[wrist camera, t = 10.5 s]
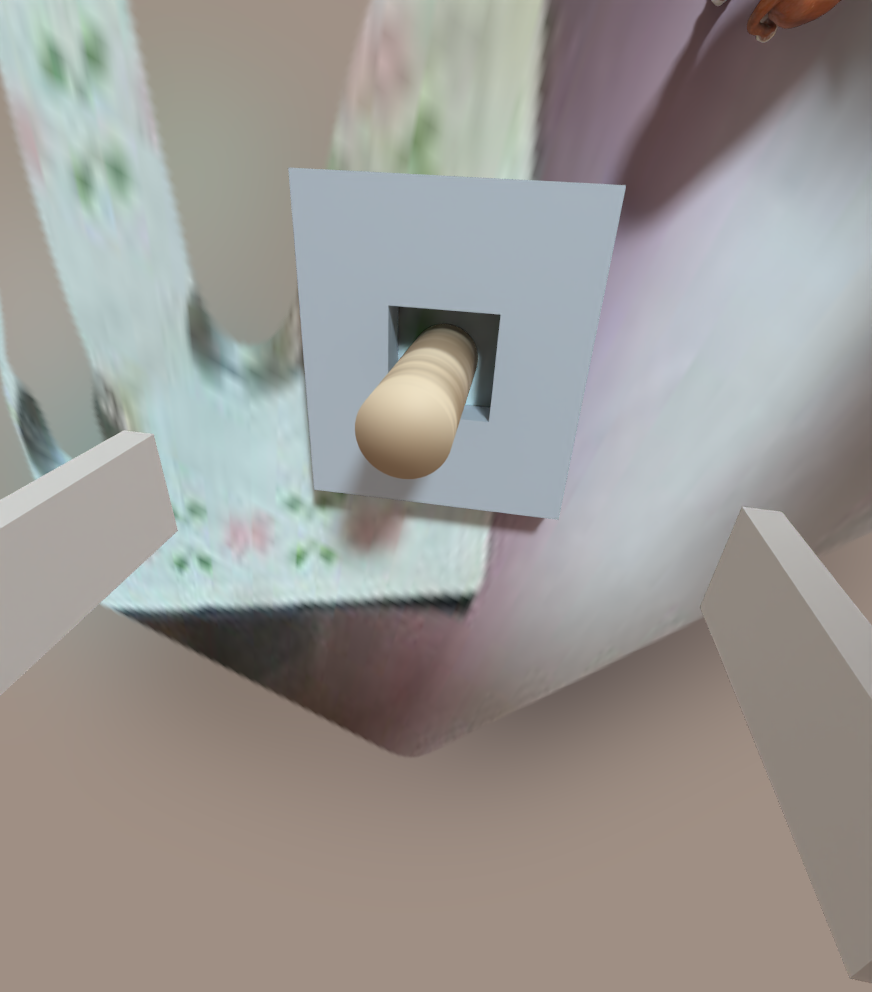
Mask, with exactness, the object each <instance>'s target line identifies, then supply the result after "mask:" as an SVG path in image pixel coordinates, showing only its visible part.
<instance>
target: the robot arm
mask: <svg viewBox="0 0 872 992" xmlns="http://www.w3.org/2000/svg"><path fill="white" fill-rule="evenodd" d="M177 531H178V530H177V526H176V522H175V518H174V514H173V510H172V506H171V502H170V498H169V494H168V490H167V486H166V482H165V478H164V474H163V470H162V466H161V462H160V458H159V454H158V450H157V446H156V442H155V438H154V434H149V433H140V432H132V431H122V432H120V433H118V434H117V435H115V436H113V437H111V438H110V439H108V440H106V441H104V442H102V443H101V444H99V445H97V446H95V447H94V448H92V449H90V450H88V451H86V452H85V453H83V454H81V455H79V456H78V457H76V458H74V459H72V460H70V461H69V462H67V463H65V464H63V465H62V466H60V467H58V468H56V469H54V470H53V471H51V472H49V473H47V474H46V475H44V476H42V477H40V478H38V479H37V480H35V481H33V482H31V483H30V484H28V485H26V486H24V487H23V488H21V489H19V490H17V491H15V492H14V493H12V494H10V495H9V496H6V497H5V498H3V499H1V500H0V695H1V694H2V693H3V692H5V691H6V690H7V689H8V688H9V687H10V686H11V685H12V684H13V683H14V682H15V681H16V680H18V679H19V678H20V677H21V675H23V674H24V673H25V672H26V671H27V670H28V669H29V668H30V667H31V666H33V665H34V664H35V663H36V662H37V661H38V660H39V659H40V658H41V657H42V656H43V655H44V654H46V653H47V652H48V651H49V650H50V649H51V648H52V647H53V646H54V645H55V644H56V643H57V642H58V641H60V640H61V639H62V638H63V637H64V636H65V635H66V634H67V633H68V632H69V631H70V630H71V629H72V628H73V627H75V625H76V624H78V623H79V622H80V621H81V620H82V619H83V618H84V617H85V616H86V615H87V614H89V613H90V612H91V611H92V610H93V609H94V608H95V607H96V606H97V605H98V604H99V603H100V602H102V601H103V600H104V599H105V598H106V597H107V596H108V595H109V594H110V593H111V592H112V591H113V590H114V589H116V588H117V587H118V586H119V585H120V584H121V583H122V582H123V581H124V580H125V579H126V578H127V577H128V576H130V575H131V574H132V573H133V572H134V571H135V570H136V569H137V568H138V567H139V566H140V565H141V564H142V563H144V562H145V561H146V560H147V559H148V558H149V557H150V556H151V555H152V554H153V553H154V552H155V551H156V550H158V549H159V548H160V547H161V546H162V545H163V544H164V543H165V542H166V541H167V540H168V539H169V538H170V537H172V536H173V535H174V534H175V533H176V532H177ZM700 609H701V611H702V614H703V616H704V619H705V621H706V624H707V626H708V629H709V631H710V634H711V636H712V638H713V641H714V643H715V646H716V648H717V651H718V653H719V655H720V658H721V661H722V663H723V665H724V668H725V670H726V673H727V676H728V678H729V681H730V683H731V686H732V688H733V690H734V693H735V695H736V698H737V700H738V703H739V705H740V708H741V710H742V713H743V715H744V718H745V720H746V723H747V725H748V728H749V730H750V732H751V735H752V738H753V740H754V743H755V745H756V748H757V750H758V752H759V755H760V757H761V760H762V762H763V765H764V767H765V769H766V772H767V775H768V777H769V780H770V782H771V785H772V787H773V789H774V792H775V795H776V797H777V799H778V802H779V804H780V807H781V809H782V812H783V814H784V817H785V819H786V822H787V824H788V827H789V829H790V832H791V834H792V837H793V839H794V842H795V844H796V847H797V849H798V851H799V854H800V856H801V859H802V861H803V864H804V866H805V869H806V871H807V874H808V876H809V879H810V881H811V884H812V886H813V889H814V891H815V894H816V896H817V899H818V901H819V903H820V906H821V909H822V911H823V914H824V916H825V918H826V921H827V923H828V926H829V928H830V931H831V933H832V935H833V938H834V941H835V943H836V946H837V948H838V951H839V953H840V956H841V958H842V961H843V963H844V965H845V968H846V970H847V973H848V975H849V978H851V979H855V980H860V981H864V982H869V983H872V625H871V624H870V623H869V621H868V620H867V619H866V618H865V616H864V615H863V614H862V613H861V611H860V610H859V609H858V608H857V606H856V605H855V604H854V603H853V601H852V600H851V599H850V597H849V596H848V595H847V594H846V592H845V591H844V590H843V589H842V587H841V586H840V585H839V583H838V582H837V581H836V580H835V578H834V577H833V576H832V575H831V573H830V572H829V571H828V570H827V568H826V567H825V566H824V565H823V563H822V562H821V561H820V559H819V558H818V557H817V556H816V554H815V553H814V552H813V551H812V549H811V548H810V547H809V545H808V544H807V543H806V542H805V540H804V539H803V538H802V537H801V535H800V534H799V533H798V532H797V530H796V529H795V528H794V526H793V525H792V524H791V523H790V521H789V520H788V519H787V518H786V516H785V515H784V514H783V513H782V512H781V511H773V510H765V509H756V508H748V507H742V508H741V511H740V513H739V515H738V518H737V520H736V522H735V525H734V527H733V530H732V532H731V534H730V537H729V539H728V541H727V544H726V546H725V549H724V551H723V553H722V556H721V558H720V561H719V563H718V565H717V568H716V570H715V572H714V575H713V577H712V580H711V582H710V584H709V587H708V589H707V591H706V594H705V596H704V599H703V601H702V603H701V606H700Z"/></svg>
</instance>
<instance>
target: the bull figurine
mask: <svg viewBox="0 0 872 992" xmlns="http://www.w3.org/2000/svg"><path fill="white" fill-rule="evenodd" d="M711 1H712V2H713V3H714V4H715V5H716V6H720V5H722V4H723V3H724V2H725V1H727V0H711ZM840 1H841V0H760V2H759V4H758V5H757V7H756V8H755V10H754V11H753V13H752V14H751V16H750V18H749V20H748V23H747V30H748V33H749V34H751V35H756V40H757V41H760V42H762V43H764V42H767V41H769V40H770V39H771V38H772V37H773V36H774V35H775V33H776V31H777V27H778V26H779V27H782V28H784V29H786V28H793V27H797V26H800V25H802V24H805V23H807V22H810V21H812V20H815V19H817V18H818V17H820V16H822V15H824V14H825V13H827V12H828V11H829V10H831V9H832V8H833V7H834V6H835V5H836V4H837V3H838V2H840ZM767 13H768V15H766V14H767ZM765 15H766V16H765Z"/></svg>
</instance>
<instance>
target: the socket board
mask: <svg viewBox="0 0 872 992" xmlns="http://www.w3.org/2000/svg"><path fill="white" fill-rule="evenodd" d="M289 181H290V193H291V205H292V219H293V231H294V242H295V243H294V244H295V256H296V267H297V268H296V269H297V281H298V294H299V306H300V319H301V331H302V344H303V356H304V369H305V381H306V394H307V406H308V419H309V431H310V444H311V456H312V469H313V481H314V490H322V491H330V492H338V493H346V494H354V495H362V496H370V497H378V498H386V499H395V500H403V501H411V502H419V503H427V504H435V505H443V506H451V507H459V508H467V509H476V510H484V511H492V512H500V513H508V514H516V515H524V516H532V517H540V518H548V519H557V520H559V515H560V510H561V505H562V500H563V495H564V490H565V485H566V480H567V475H568V470H569V465H570V460H571V456H572V451H573V446H574V441H575V436H576V431H577V426H578V421H579V416H580V411H581V406H582V401H583V396H584V391H585V386H586V381H587V376H588V372H589V367H590V362H591V357H592V352H593V347H594V342H595V337H596V332H597V327H598V322H599V317H600V312H601V307H602V302H603V297H604V292H605V288H606V283H607V278H608V273H609V268H610V263H611V258H612V253H613V248H614V243H615V238H616V233H617V228H618V223H619V218H620V213H621V208H622V203H623V199H624V194H625V189H626V185H610V184H591V183H571V182H552V181H533V180H514V179H495V178H476V177H457V176H438V175H419V174H400V173H381V172H362V171H343V170H324V169H305V168H304V169H303V168H289ZM398 306H402V307H414V308H427V309H439V310H451V311H463V312H476V313H488V314H500V315H501V316H500V325H499V334H498V343H497V352H496V361H495V371H494V380H493V389H492V398H491V407H481V406H472V405H465V406H464V409H463V412H462V416H461V419H460V422H459V425H458V428H457V432H456V435H455V438H454V441H453V444H452V447H451V451H450V453H449V455H448V458H447V459H446V461H445V462H444V463H443V464H442V466H441V467H440V468H438V469H437V470H436V471H435V472H433V473H431V474H429V475H427V476H425V477H422V478H417V479H400V478H395V477H392V476H389V475H387V474H384V473H383V472H381V471H379V470H378V469H376V468H375V467H374V466H372V465H371V464H370V463H369V462H368V461H367V459H366V458H365V457H364V455H363V454H362V452H361V450H360V449H359V446H358V444H357V441H356V436H355V421H356V416H357V413H358V411H359V409H360V407H361V406H362V404H363V403H364V401H365V400H366V399H367V398H368V397H369V395H370V394H371V393H372V392H373V391H374V389H375V388H376V387H377V386H378V385H379V383H380V382H381V381H382V380H383V379H384V377H385V376H386V375H387V374H388V373H389V371H390V370H391V369H392V368H393V367H394V365H395V364H396V363H397V362H398Z"/></svg>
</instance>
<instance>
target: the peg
mask: <svg viewBox="0 0 872 992" xmlns="http://www.w3.org/2000/svg"><path fill="white" fill-rule="evenodd" d="M477 363H478V353H477V348H476V346H475V343H474V341H473V340H472V338H471V337H470V336H469V334H468V333H467V332H465V331H464V330H463V329H461V328H459V327H457V326H455V325H451V324H437V325H433V326H431V327H429V328H427V329H426V330H424V331H423V332H422V333H421V334H420V335H419V336H418V338H417V339H416V340H415V341H414V342H413V344H412V345H411V346H410V347H409V348H408V350H407V351H406V352H405V353H404V354H403V356H402V357H401V358H400V359H399V361H398V362H397V363H396V364H395V365H394V367H393V368H392V369H391V370H390V371H389V373H388V374H387V375H386V376H385V377H384V379H383V380H382V381H381V382H380V383H379V385H378V386H377V387H376V388H375V389H374V391H373V392H372V393H371V394H370V395H369V397H368V398H367V399H366V400H365V401H364V403H363V404H362V406H361V407H360V409H359V411H358V413H357V416H356V421H355V436H356V441H357V444H358V446H359V449H360V450H361V452H362V454H363V455H364V457H365V458H366V459H367V461H368V462H369V463H370V464H371V465H372V466H374V467H375V468H376V469H378V470H379V471H381V472H383V473H384V474H387V475H389V476H392V477H395V478H400V479H417V478H422V477H425V476H427V475H429V474H431V473H433V472H435V471H436V470H437V469H438V468H440V467H441V466H442V464H443V463H444V462H445V461H446V459H447V458H448V455H449V453H450V451H451V447H452V444H453V441H454V438H455V435H456V432H457V428H458V425H459V422H460V419H461V416H462V412H463V409H464V406H465V403H466V400H467V396H468V393H469V390H470V387H471V384H472V380H473V377H474V374H475V371H476V368H477Z"/></svg>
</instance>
